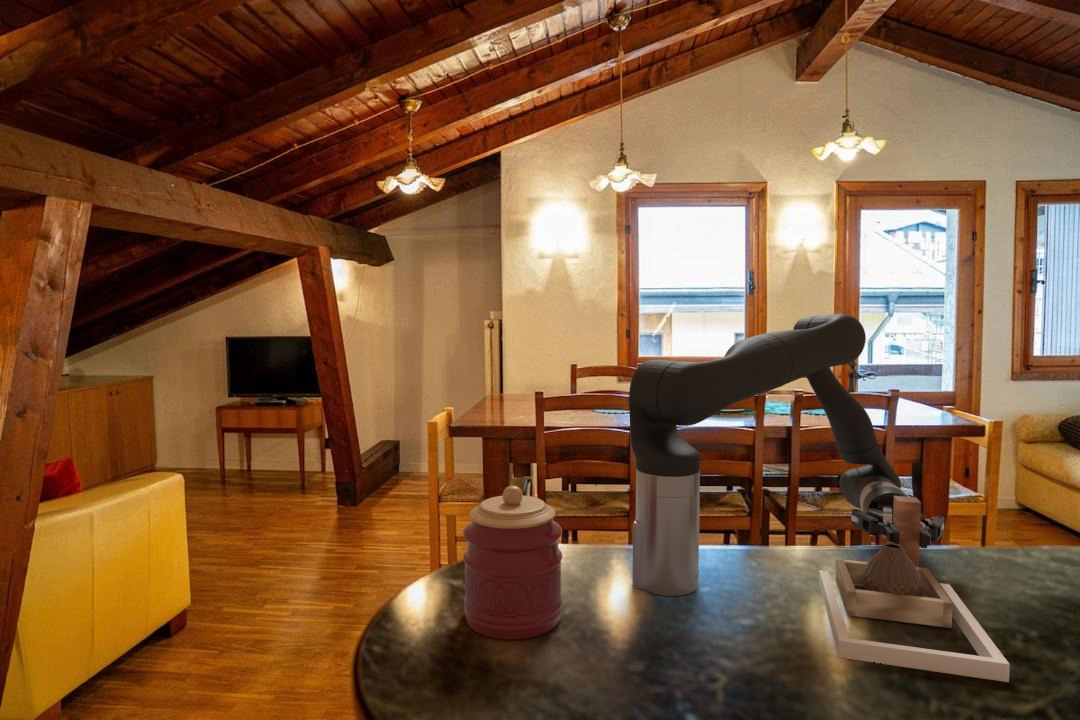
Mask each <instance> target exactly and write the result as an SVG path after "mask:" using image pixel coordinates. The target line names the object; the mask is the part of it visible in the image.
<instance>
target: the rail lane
mask: <svg viewBox="0 0 1080 720" xmlns="http://www.w3.org/2000/svg"><path fill="white" fill-rule="evenodd" d="M818 571H819V573H818V584H819V588H820V592H821V595H822V599H823V602H824V606H825V611H826V614H827V618H828V622H829V625H830V630H831V633H832V635H833V636H832V637H833V640H834V644H835V648H836V651H837V656H838V658H841V659H848V660H854V661H855V660H856V661H860V662H861V661H862V662H868V663H873V662H875V663H874V664H880V663H881V664H882V665H887V666H889V665H890V666H895V667H901V668H902V667H903V668H909V669H916V670H923V671H928V672H935V673H937V672H938V673H943V674H949V675H950V674H951V675H957V676H962V677H969V678H970V677H971V678H977V679H982V680H983V679H985V680H992V681H999V682H1003V683H1004V682H1005V683H1010V666H1011V664H1010V663H1009V661H1008V660H1007V659H1006V658H1005V657H1004V655H1003V654H1002V652H1001V651H1000V649H999V648H998V647H997V646H996V644H995V643H994V642H993V640H992V639H991V638H990V636H989V635H988V634H987V632H986V631H985V629H984V628H983V627H982V625H981V624H980V623H979V622H978V620H977V619H976V618H975V616H974V615H973V614H972V613H971V611H970V610H969V609H968V606H966V605H965V603H964V602H963V601H962V599H961V598H960V597H959V596H958V594H957V592H955V590H954V589H953V587H952V586H951V585H950V583H942V582H938V584H939V585H940V586H941V588H942V589H943V590H944V592H945V593H946V595H947V596H948V597H949V599H950V600H951V602H952V603H953V611H952V619H953V620H954V622H955V623H956V624H957V626H958V627H959V629H960V630H961V632H962V633H963V634H964V636H965V637H966V638H967V640H968V642H969V643H970V645H971V646H972V647H973V650H975V652H976V654H977V655H975V654H967V653H960V652H953V651H946V650H944V651H943V650H938V649H930V648H923V647H917V646H916V647H915V646H908V645H901V644H895V643H887V642H881V641H880V642H878V641H874V640H873V641H872V640H865V639H857V638H850V635H849V632H848V629H847V627H846V622H845V620H844V617H843V614H842V611H841V608H840V604H839V601H838V598H837V594H836V592H835V588H834V585H833V582H832V579H831V575H830V572H829V570H821V569H820V570H818Z"/></svg>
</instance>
